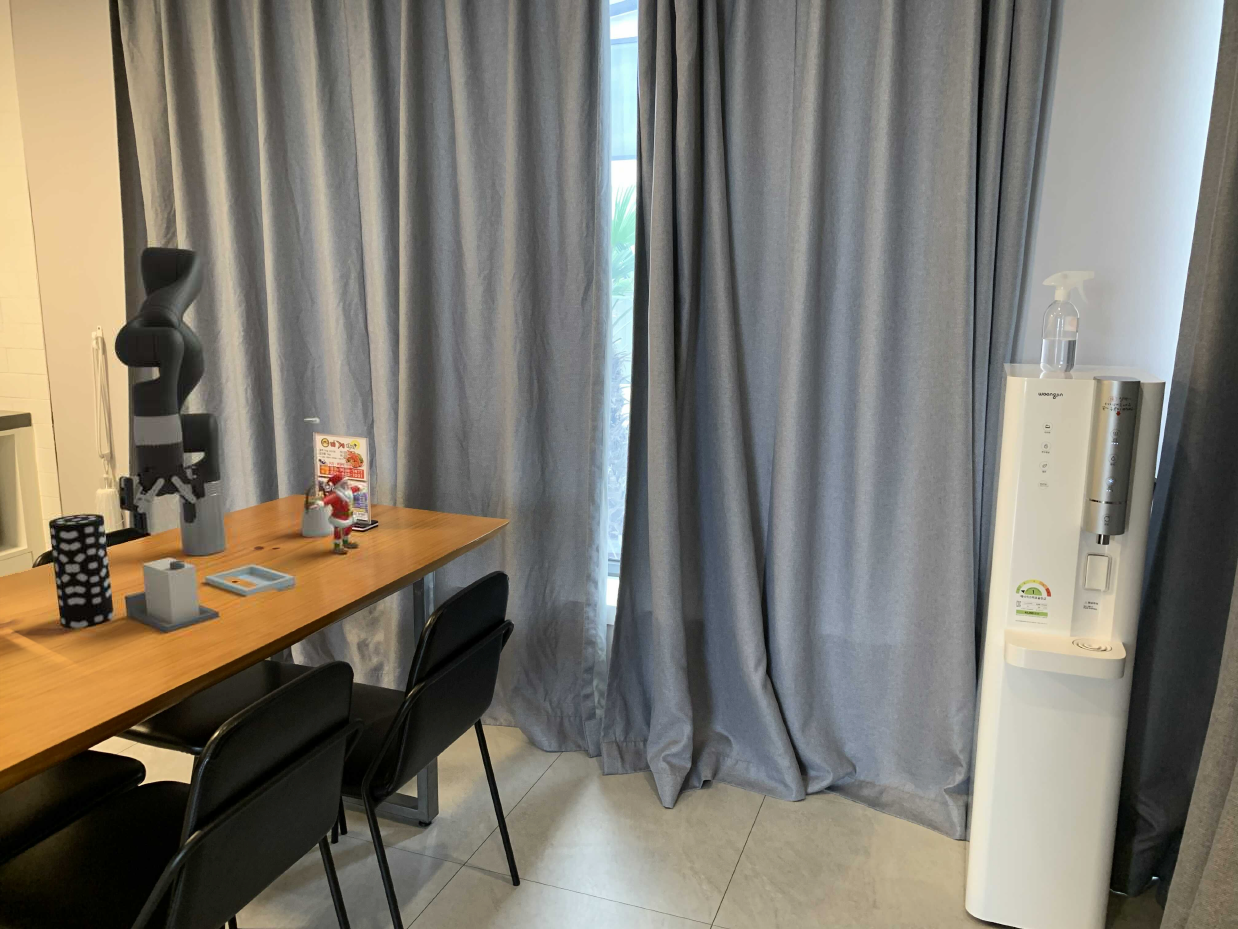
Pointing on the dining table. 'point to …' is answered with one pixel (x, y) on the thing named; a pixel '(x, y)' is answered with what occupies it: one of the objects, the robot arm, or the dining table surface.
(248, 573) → the tray
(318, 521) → the white tall stand
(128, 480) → the robot arm
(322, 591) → the dining table surface
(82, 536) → the white-spotted black cylinder
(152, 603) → the white block with knob
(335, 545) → the santa figurine
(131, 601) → the bay
